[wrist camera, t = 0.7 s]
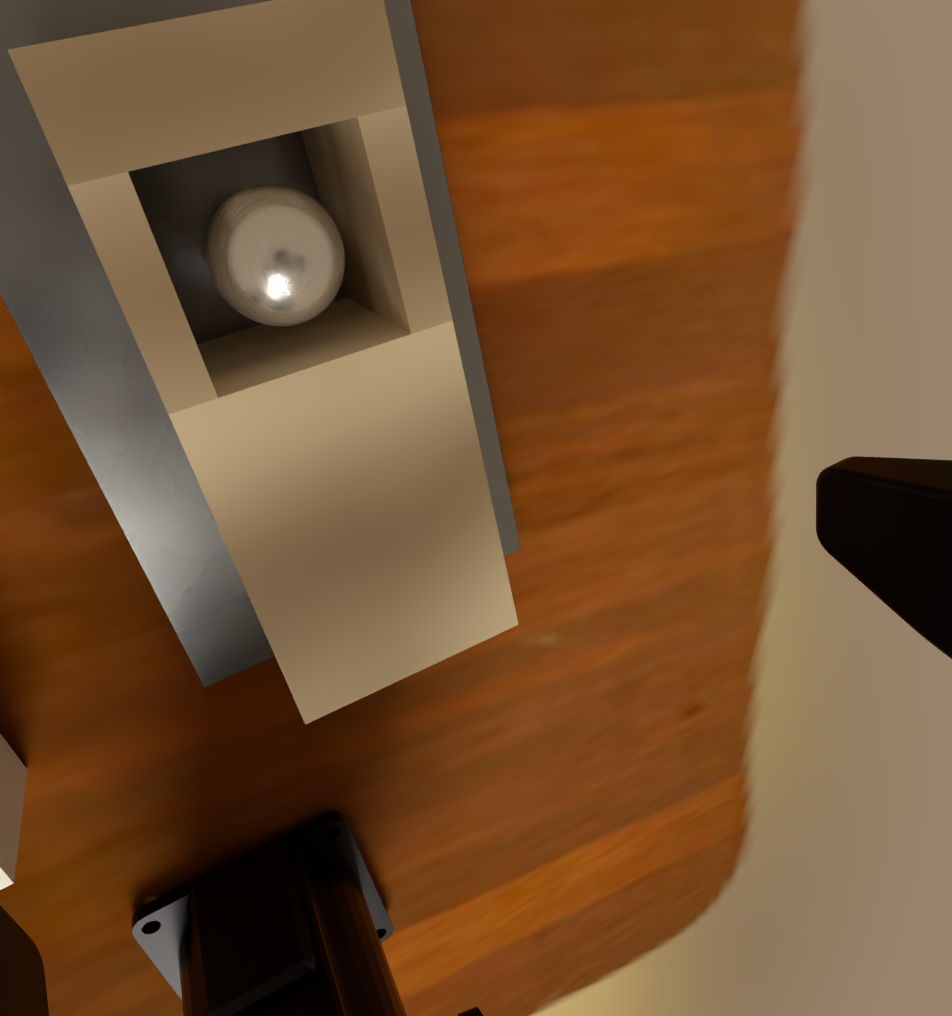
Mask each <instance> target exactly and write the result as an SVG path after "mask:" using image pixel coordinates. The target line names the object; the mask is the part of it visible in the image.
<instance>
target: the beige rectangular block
mask: <svg viewBox="0 0 952 1016" xmlns="http://www.w3.org/2000/svg"><path fill="white" fill-rule="evenodd" d="M8 52H9V55H10V57H11V59H12V61H13V64H14V66H15V68H16V71H17V73H18V75H19V77H20V80H21V82H22V84H23V86H24V89H25V91H26V93H27V95H28V98H29V100H30V102H31V105H32V107H33V109H34V111H35V114H36V116H37V118H38V120H39V123H40V125H41V127H42V129H43V132H44V134H45V136H46V139H47V141H48V143H49V145H50V148H51V150H52V152H53V154H54V157H55V159H56V161H57V163H58V166H59V168H60V170H61V172H62V175H63V177H64V179H65V182H66V184H67V186H68V188H69V191H70V193H71V195H72V197H73V200H74V202H75V204H76V206H77V209H78V211H79V213H80V216H81V218H82V220H83V222H84V225H85V227H86V229H87V231H88V234H89V236H90V238H91V240H92V243H93V245H94V247H95V249H96V252H97V254H98V256H99V259H100V261H101V263H102V265H103V268H104V270H105V272H106V274H107V277H108V279H109V281H110V283H111V286H112V288H113V290H114V293H115V295H116V297H117V299H118V302H119V304H120V306H121V308H122V311H123V313H124V315H125V317H126V320H127V322H128V324H129V326H130V329H131V331H132V333H133V336H134V338H135V340H136V342H137V345H138V347H139V349H140V351H141V354H142V356H143V358H144V360H145V363H146V365H147V367H148V370H149V372H150V374H151V376H152V379H153V381H154V383H155V385H156V388H157V390H158V392H159V394H160V397H161V399H162V401H163V404H164V406H165V408H166V410H167V413H168V415H169V417H170V419H171V422H172V424H173V426H174V428H175V431H176V433H177V435H178V437H179V440H180V442H181V444H182V447H183V449H184V451H185V453H186V456H187V458H188V460H189V462H190V465H191V467H192V469H193V471H194V474H195V476H196V478H197V481H198V483H199V485H200V487H201V490H202V492H203V494H204V496H205V499H206V501H207V503H208V505H209V508H210V510H211V512H212V514H213V517H214V519H215V521H216V524H217V526H218V528H219V530H220V533H221V535H222V537H223V539H224V542H225V544H226V546H227V548H228V551H229V553H230V555H231V558H232V560H233V562H234V564H235V567H236V569H237V571H238V573H239V576H240V578H241V580H242V582H243V585H244V587H245V589H246V592H247V594H248V596H249V598H250V601H251V603H252V605H253V607H254V610H255V612H256V614H257V616H258V619H259V621H260V623H261V625H262V628H263V630H264V632H265V635H266V637H267V639H268V641H269V644H270V646H271V648H272V650H273V653H274V655H275V657H276V659H277V662H278V664H279V666H280V669H281V671H282V673H283V675H284V678H285V680H286V682H287V684H288V687H289V689H290V691H291V693H292V696H293V698H294V700H295V702H296V705H297V707H298V709H299V712H300V714H301V716H302V718H303V721H304V723H305V725H306V724H308V723H310V722H312V721H314V720H316V719H319V718H321V717H323V716H325V715H327V714H329V713H331V712H333V711H336V710H338V709H340V708H342V707H344V706H346V705H348V704H351V703H353V702H355V701H357V700H359V699H361V698H363V697H365V696H368V695H370V694H372V693H374V692H376V691H378V690H380V689H382V688H385V687H387V686H389V685H391V684H393V683H395V682H397V681H400V680H402V679H404V678H406V677H408V676H410V675H412V674H414V673H417V672H419V671H421V670H423V669H425V668H427V667H429V666H432V665H434V664H436V663H438V662H440V661H442V660H444V659H446V658H449V657H451V656H453V655H455V654H457V653H459V652H461V651H463V650H466V649H468V648H470V647H472V646H474V645H476V644H478V643H481V642H483V641H485V640H487V639H489V638H491V637H493V636H495V635H498V634H500V633H502V632H504V631H506V630H508V629H510V628H512V627H515V626H517V625H518V620H517V615H516V611H515V606H514V602H513V597H512V592H511V588H510V583H509V578H508V574H507V569H506V565H505V560H504V555H503V551H502V546H501V541H500V537H499V532H498V528H497V523H496V518H495V514H494V509H493V505H492V500H491V495H490V491H489V486H488V481H487V477H486V472H485V468H484V463H483V458H482V454H481V449H480V444H479V440H478V435H477V431H476V426H475V421H474V417H473V412H472V407H471V403H470V398H469V394H468V389H467V384H466V380H465V375H464V370H463V366H462V361H461V357H460V352H459V347H458V343H457V338H456V333H455V329H454V324H453V320H452V315H451V310H450V306H449V301H448V296H447V292H446V287H445V283H444V278H443V273H442V269H441V264H440V259H439V255H438V250H437V246H436V241H435V236H434V232H433V227H432V222H431V218H430V213H429V209H428V204H427V199H426V195H425V190H424V185H423V181H422V176H421V172H420V167H419V162H418V158H417V153H416V148H415V144H414V139H413V135H412V130H411V125H410V121H409V116H408V112H407V107H406V102H405V98H404V93H403V88H402V84H401V79H400V75H399V70H398V65H397V61H396V56H395V51H394V47H393V42H392V38H391V33H390V28H389V24H388V19H387V14H386V10H385V5H384V1H383V0H272V1H267V2H261V3H256V4H250V5H245V6H240V7H234V8H229V9H223V10H218V11H213V12H207V13H202V14H197V15H191V16H186V17H180V18H175V19H170V20H164V21H159V22H154V23H148V24H143V25H137V26H132V27H127V28H121V29H116V30H110V31H105V32H100V33H94V34H89V35H84V36H78V37H73V38H67V39H62V40H57V41H51V42H46V43H41V44H35V45H30V46H24V47H19V48H14V49H8ZM297 131H301V134H302V137H303V141H304V144H305V148H306V151H307V155H308V158H309V162H310V165H311V169H312V172H313V176H314V179H315V183H316V186H317V190H318V193H319V197H320V201H321V204H322V207H323V208H324V209H325V210H326V211H327V212H328V214H329V215H330V216H331V218H332V219H333V221H334V223H335V224H336V226H337V228H338V231H339V233H340V235H341V238H342V241H343V246H344V251H345V270H344V276H343V281H344V285H345V289H346V292H347V296H348V298H346V299H342V300H339V301H336V302H333V303H330V304H329V306H328V307H327V308H326V309H325V310H324V311H322V312H321V313H320V314H318V315H317V316H316V317H314V318H312V319H310V320H308V321H306V322H303V323H300V324H296V325H291V326H271V325H265V324H262V325H258V326H255V327H252V328H249V329H245V330H242V331H239V332H236V333H232V334H229V335H226V336H223V337H219V338H216V339H213V340H210V341H206V342H203V343H200V344H196V341H195V339H194V336H193V334H192V331H191V329H190V326H189V324H188V321H187V319H186V316H185V314H184V311H183V309H182V306H181V304H180V301H179V299H178V296H177V294H176V291H175V289H174V286H173V284H172V281H171V279H170V276H169V274H168V271H167V269H166V266H165V264H164V261H163V259H162V256H161V254H160V251H159V249H158V246H157V244H156V241H155V239H154V236H153V234H152V231H151V229H150V226H149V224H148V221H147V219H146V216H145V214H144V211H143V209H142V206H141V204H140V201H139V199H138V196H137V194H136V191H135V189H134V186H133V184H132V181H131V179H130V176H129V174H128V172H129V171H133V170H137V169H142V168H146V167H150V166H154V165H158V164H163V163H167V162H171V161H175V160H179V159H184V158H188V157H192V156H196V155H200V154H205V153H209V152H213V151H217V150H221V149H226V148H230V147H234V146H238V145H242V144H247V143H251V142H255V141H259V140H263V139H268V138H272V137H276V136H280V135H284V134H289V133H293V132H297Z"/></svg>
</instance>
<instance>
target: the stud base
mask: <svg viewBox="0 0 952 1016" xmlns="http://www.w3.org/2000/svg"><path fill="white" fill-rule="evenodd" d="M267 1H272V0H0V295H1V296H2V298H3V300H4V302H5V304H6V306H7V308H8V310H9V312H10V314H11V316H12V318H13V320H14V321H15V323H16V325H17V327H18V329H19V331H20V333H21V335H22V337H23V339H24V341H25V343H26V345H27V347H28V348H29V350H30V352H31V354H32V356H33V358H34V360H35V362H36V364H37V366H38V368H39V370H40V372H41V373H42V375H43V377H44V379H45V381H46V383H47V385H48V387H49V389H50V391H51V393H52V395H53V397H54V398H55V400H56V402H57V404H58V406H59V408H60V410H61V412H62V414H63V416H64V418H65V420H66V422H67V424H68V425H69V427H70V429H71V431H72V433H73V435H74V437H75V439H76V441H77V443H78V445H79V447H80V449H81V450H82V452H83V454H84V456H85V458H86V460H87V462H88V464H89V466H90V468H91V470H92V472H93V474H94V475H95V477H96V479H97V481H98V483H99V485H100V487H101V489H102V491H103V493H104V495H105V497H106V499H107V501H108V502H109V504H110V506H111V508H112V510H113V512H114V514H115V516H116V518H117V520H118V522H119V524H120V526H121V527H122V529H123V531H124V533H125V535H126V537H127V539H128V541H129V543H130V545H131V547H132V549H133V551H134V552H135V554H136V556H137V558H138V560H139V562H140V564H141V566H142V568H143V570H144V572H145V574H146V576H147V578H148V579H149V581H150V583H151V585H152V587H153V589H154V591H155V593H156V595H157V597H158V599H159V601H160V603H161V604H162V606H163V608H164V610H165V612H166V614H167V616H168V618H169V620H170V622H171V624H172V626H173V628H174V629H175V631H176V633H177V635H178V637H179V639H180V641H181V643H182V645H183V647H184V649H185V651H186V653H187V655H188V656H189V658H190V660H191V662H192V664H193V666H194V668H195V670H196V672H197V674H198V676H199V678H200V680H201V681H202V683H203V685H204V687H207V686H209V685H211V684H214V683H216V682H218V681H221V680H223V679H225V678H227V677H230V676H232V675H234V674H237V673H239V672H241V671H243V670H246V669H248V668H250V667H253V666H255V665H257V664H259V663H262V662H264V661H266V660H269V659H271V658H273V657H275V655H274V653H273V650H272V648H271V646H270V644H269V641H268V639H267V637H266V635H265V632H264V630H263V628H262V625H261V623H260V621H259V619H258V616H257V614H256V612H255V610H254V607H253V605H252V603H251V601H250V598H249V596H248V594H247V592H246V589H245V587H244V585H243V582H242V580H241V578H240V576H239V573H238V571H237V569H236V567H235V564H234V562H233V560H232V558H231V555H230V553H229V551H228V548H227V546H226V544H225V542H224V539H223V537H222V535H221V533H220V530H219V528H218V526H217V524H216V521H215V519H214V517H213V514H212V512H211V510H210V508H209V505H208V503H207V501H206V499H205V496H204V494H203V492H202V490H201V487H200V485H199V483H198V481H197V478H196V476H195V474H194V471H193V469H192V467H191V465H190V462H189V460H188V458H187V456H186V453H185V451H184V449H183V447H182V444H181V442H180V440H179V437H178V435H177V433H176V431H175V428H174V426H173V424H172V422H171V419H170V417H169V415H168V413H167V410H166V408H165V406H164V404H163V401H162V399H161V397H160V394H159V392H158V390H157V388H156V385H155V383H154V381H153V379H152V376H151V374H150V372H149V370H148V367H147V365H146V363H145V360H144V358H143V356H142V354H141V351H140V349H139V347H138V345H137V342H136V340H135V338H134V336H133V333H132V331H131V329H130V326H129V324H128V322H127V320H126V317H125V315H124V313H123V311H122V308H121V306H120V304H119V302H118V299H117V297H116V295H115V293H114V290H113V288H112V286H111V283H110V281H109V279H108V277H107V274H106V272H105V270H104V268H103V265H102V263H101V261H100V259H99V256H98V254H97V252H96V249H95V247H94V245H93V243H92V240H91V238H90V236H89V234H88V231H87V229H86V227H85V225H84V222H83V220H82V218H81V216H80V213H79V211H78V209H77V206H76V204H75V202H74V200H73V197H72V195H71V193H70V191H69V188H68V186H67V184H66V182H65V179H64V177H63V175H62V172H61V170H60V168H59V166H58V163H57V161H56V159H55V157H54V154H53V152H52V150H51V148H50V145H49V143H48V141H47V139H46V136H45V134H44V132H43V129H42V127H41V125H40V123H39V120H38V118H37V116H36V114H35V111H34V109H33V107H32V105H31V102H30V100H29V98H28V95H27V93H26V91H25V89H24V86H23V84H22V82H21V80H20V77H19V75H18V73H17V71H16V68H15V66H14V64H13V61H12V59H11V57H10V55H9V52H8V49H14V48H19V47H24V46H30V45H35V44H41V43H46V42H51V41H57V40H62V39H67V38H73V37H78V36H84V35H89V34H94V33H100V32H105V31H110V30H116V29H121V28H127V27H132V26H137V25H143V24H148V23H154V22H159V21H164V20H170V19H175V18H180V17H186V16H191V15H197V14H202V13H207V12H213V11H218V10H223V9H229V8H234V7H240V6H245V5H250V4H256V3H261V2H267ZM383 1H384V5H385V10H386V14H387V19H388V24H389V28H390V33H391V38H392V42H393V47H394V51H395V56H396V61H397V65H398V70H399V75H400V79H401V84H402V88H403V93H404V98H405V102H406V107H407V112H408V116H409V121H410V125H411V130H412V135H413V139H414V144H415V148H416V153H417V158H418V162H419V167H420V172H421V176H422V181H423V185H424V190H425V195H426V199H427V204H428V209H429V213H430V218H431V222H432V227H433V232H434V236H435V241H436V246H437V250H438V255H439V259H440V264H441V269H442V273H443V278H444V283H445V287H446V292H447V296H448V301H449V306H450V310H451V315H452V320H453V324H454V329H455V333H456V338H457V343H458V347H459V352H460V357H461V361H462V366H463V370H464V375H465V380H466V384H467V389H468V394H469V398H470V403H471V407H472V412H473V417H474V421H475V426H476V431H477V435H478V440H479V444H480V449H481V454H482V458H483V463H484V468H485V472H486V477H487V481H488V486H489V491H490V495H491V500H492V505H493V509H494V514H495V518H496V523H497V528H498V532H499V537H500V541H501V546H502V551H503V555H504V556H506V555H508V554H511V553H513V552H515V551H518V550H520V549H521V548H520V543H519V538H518V533H517V528H516V523H515V518H514V513H513V508H512V503H511V498H510V493H509V488H508V483H507V478H506V473H505V468H504V463H503V458H502V453H501V448H500V443H499V438H498V433H497V428H496V423H495V418H494V413H493V408H492V403H491V398H490V393H489V388H488V384H487V379H486V374H485V369H484V364H483V359H482V354H481V349H480V344H479V339H478V334H477V329H476V324H475V319H474V314H473V309H472V304H471V299H470V294H469V289H468V284H467V279H466V274H465V269H464V264H463V259H462V254H461V249H460V244H459V239H458V234H457V229H456V224H455V219H454V214H453V209H452V204H451V199H450V194H449V189H448V184H447V180H446V175H445V170H444V165H443V160H442V155H441V150H440V145H439V140H438V135H437V130H436V125H435V120H434V115H433V110H432V105H431V100H430V95H429V90H428V85H427V80H426V75H425V70H424V65H423V60H422V55H421V50H420V45H419V40H418V35H417V30H416V25H415V20H414V15H413V10H412V5H411V0H383ZM128 174H129V176H130V179H131V181H132V184H133V186H134V189H135V191H136V194H137V196H138V199H139V201H140V204H141V206H142V209H143V211H144V214H145V216H146V219H147V221H148V224H149V226H150V229H151V231H152V234H153V236H154V239H155V241H156V244H157V246H158V249H159V251H160V254H161V256H162V259H163V261H164V264H165V266H166V269H167V271H168V274H169V276H170V279H171V281H172V284H173V286H174V289H175V291H176V294H177V296H178V299H179V301H180V304H181V306H182V309H183V311H184V314H185V316H186V319H187V321H188V324H189V326H190V329H191V331H192V334H193V336H194V339H195V341H196V344H200V343H203V342H206V341H210V340H213V339H216V338H219V337H223V336H226V335H229V334H232V333H236V332H239V331H242V330H245V329H249V328H252V327H255V326H258V325H262V324H265V325H271V326H291V325H296V324H300V323H303V322H306V321H308V320H310V319H312V318H314V317H316V316H317V315H318V314H320V313H321V312H322V311H324V310H325V309H326V308H327V307H328V306H329V304H330V303H333V302H336V301H339V300H342V299H346V298H348V296H347V292H346V289H345V285H344V281H343V276H344V270H345V251H344V246H343V241H342V238H341V235H340V233H339V231H338V228H337V226H336V224H335V223H334V221H333V219H332V218H331V216H330V215H329V214H328V212H327V211H326V210H325V209H324V208H323V207H322V204H321V201H320V197H319V193H318V190H317V186H316V183H315V179H314V176H313V172H312V169H311V165H310V162H309V158H308V155H307V151H306V148H305V144H304V141H303V137H302V134H301V131H297V132H293V133H289V134H284V135H280V136H276V137H272V138H268V139H263V140H259V141H255V142H251V143H247V144H242V145H238V146H234V147H230V148H226V149H221V150H217V151H213V152H209V153H205V154H200V155H196V156H192V157H188V158H184V159H179V160H175V161H171V162H167V163H163V164H158V165H154V166H150V167H146V168H142V169H137V170H133V171H129V172H128Z"/></svg>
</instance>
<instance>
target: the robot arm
mask: <svg viewBox="0 0 952 1016" xmlns="http://www.w3.org/2000/svg"><path fill="white" fill-rule="evenodd" d="M816 531H817V536H818V539H819V541H820V543H821V544H822V546H823V547H824V549H825V550H826V551H827V552H828V553H829V554H830V555H831V556H833V557H834V558H835V559H836V560H837V561H838V562H839V563H840V564H841V565H843V566H844V567H845V568H846V569H847V570H848V571H849V572H850V573H852V574H853V575H854V576H855V577H856V578H857V579H858V580H860V581H861V582H862V583H863V584H864V585H865V586H866V587H867V588H868V589H870V590H871V591H872V592H873V593H874V594H875V595H876V596H877V597H879V598H880V599H881V600H882V601H883V602H884V603H885V604H886V605H887V606H889V607H890V608H891V609H892V610H893V611H894V612H895V613H896V614H898V615H899V616H900V617H901V618H902V619H903V620H904V621H905V622H907V623H908V624H909V625H910V626H911V627H912V628H913V629H915V630H916V631H917V632H918V633H919V634H921V635H922V636H923V637H924V638H925V639H927V640H928V641H929V642H930V643H932V644H933V645H934V646H935V647H937V648H938V649H939V650H941V651H942V652H943V653H944V654H946V655H947V656H949V657H950V658H951V659H952V460H931V459H906V458H882V457H881V458H880V457H850V458H846V459H844V460H842V461H840V462H838V463H836V464H834V465H832V466H829V467H827V468H826V469H824V470H823V471H822V472H821V473H820V474H819V476H818V479H817V483H816ZM333 827H334V828H333ZM330 828H333V829H331V830H329V829H330ZM327 830H328V831H327ZM150 921H152V922H150ZM392 932H393V926H392V923H391V921H390V918H389V916H388V913H387V911H386V909H385V907H384V904H383V902H382V900H381V898H380V895H379V893H378V891H377V889H376V886H375V884H374V882H373V880H372V877H371V875H370V873H369V871H368V868H367V866H366V864H365V862H364V859H363V857H362V855H361V852H360V850H359V848H358V846H357V843H356V841H355V839H354V837H353V834H352V832H351V830H350V828H349V825H348V823H347V821H346V819H345V816H344V815H343V814H342V813H340V812H337V811H332V812H328V813H325V814H323V815H321V816H319V817H317V818H315V819H313V820H311V821H309V822H307V823H305V824H303V825H301V826H299V827H298V828H296V829H294V830H292V831H290V832H288V833H286V834H284V835H282V836H280V837H278V838H276V839H274V840H272V841H270V842H268V843H266V844H264V845H262V846H260V847H258V848H256V849H254V850H252V851H250V852H248V853H246V854H244V855H242V856H240V857H238V858H236V859H234V860H232V861H231V862H229V863H227V864H225V865H223V866H221V867H219V868H217V869H215V870H213V871H211V872H209V873H207V874H205V875H203V876H201V877H199V878H197V879H195V880H193V881H191V882H189V883H187V884H185V885H183V886H181V887H179V888H177V889H175V890H173V891H171V892H169V893H167V894H166V895H164V896H162V897H160V898H158V899H156V900H154V901H152V902H150V903H148V904H146V905H144V906H142V907H141V908H139V909H138V910H137V911H136V912H135V913H134V914H133V917H132V933H133V936H134V938H135V939H136V940H137V942H138V943H139V944H140V946H141V947H142V948H143V950H144V951H145V952H146V954H147V955H148V956H149V958H150V959H151V960H152V962H153V963H154V964H155V965H156V967H157V968H158V969H159V971H160V972H161V973H162V975H163V976H164V977H165V979H166V980H167V981H168V983H169V984H170V985H171V986H172V988H173V989H174V990H175V992H176V993H177V994H178V996H179V997H180V998H181V1000H182V1002H183V1013H184V1016H406V1013H405V1010H404V1007H403V1004H402V1001H401V999H400V996H399V993H398V990H397V987H396V985H395V982H394V979H393V976H392V973H391V971H390V968H389V965H388V962H387V959H386V956H385V954H384V951H383V948H382V945H381V943H383V942H384V941H385V940H387V939H388V938H389V937H390V936H391V934H392ZM0 1016H49V1011H48V1002H47V993H46V984H45V975H44V967H43V963H42V959H41V956H40V953H39V951H38V949H37V947H36V945H35V943H34V942H33V941H32V939H31V938H30V937H29V936H28V935H27V934H26V933H25V931H24V930H23V929H22V928H21V927H20V926H19V925H18V924H17V923H16V922H15V921H14V920H13V918H12V917H11V916H10V915H9V914H8V913H7V912H6V911H5V910H4V909H3V908H2V906H1V905H0ZM458 1016H483V1014H482V1013H481V1011H480V1010H479V1008H478V1007H474V1008H472V1009H469V1010H467V1011H464V1012H462V1013H459V1014H458Z"/></svg>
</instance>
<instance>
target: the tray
mask: <svg viewBox="0 0 952 1016" xmlns="http://www.w3.org/2000/svg"><path fill="white" fill-rule="evenodd" d="M26 777H27V769H26V767H25V766H24V765H23V763H22V762H21V761H20V759H19V758H18V756H17V755H16V754H15V752H14V751H13V750H12V748H11V747H10V746H9V744H8V743H7V742H6V740H5V739H4V738H3V736H2V735H1V734H0V890H1V889H3V888H5V887H7V886H9V885H12V884H14V878H15V869H16V861H17V853H18V844H19V836H20V827H21V819H22V811H23V802H24V794H25V785H26Z"/></svg>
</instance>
